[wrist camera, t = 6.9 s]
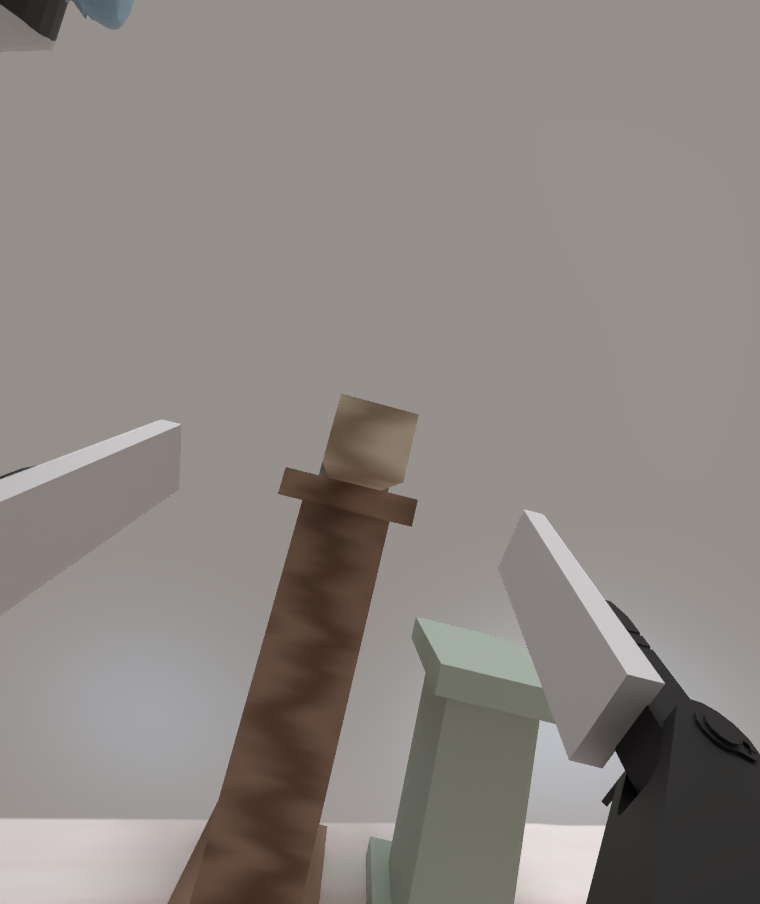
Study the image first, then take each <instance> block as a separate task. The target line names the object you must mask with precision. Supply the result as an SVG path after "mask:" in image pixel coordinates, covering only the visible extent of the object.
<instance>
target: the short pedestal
mask: <svg viewBox="0 0 760 904" xmlns="http://www.w3.org/2000/svg"><path fill="white" fill-rule="evenodd" d="M412 640H413V642H414V645H415V647H416V650H417V652H418V655H419V657H420V660H421V662H422V664H423V667H424V669H425V672H426V674H425V679H424V684H423V689H422V694H421V699H420V704H419V709H418V715H417V719H416V724H415V729H414V734H413V739H412V744H411V749H410V755H409V760H408V765H407V770H406V775H405V780H404V785H403V790H402V795H401V800H400V805H399V810H398V815H397V820H396V825H395V830H394V835H393V840H392V842H391V841H387V840H383V839H378V838H374V837H370V840H369V845H368V850H367V854H366V874H367V904H514V898H515V891H516V884H517V877H518V870H519V862H520V855H521V848H522V841H523V834H524V827H525V819H526V813H527V805H528V798H529V791H530V784H531V777H532V770H533V763H534V756H535V755H534V754H535V749H536V741H537V734H538V727H539V720H542V721H546V722H550V723H554V724H556V723H555V720H554V718H553V715H552V712H551V710H550V707H549V704H548V701H547V699H546V696H545V693H544V691H543V688H542V685H541V683H540V680H539V677H538V675H537V672H536V669H535V666H534V664H533V661H532V658H531V656H530V654H529V653H528V652H526V651H525V650H524V649H523V648H522V647H520V646H519V645H518V644H517V643H515V642H514V641H513V640H509V639H506V638H501V637H497V636H493V635H489V634H485V633H481V632H477V631H472V630H468V629H464V628H460V627H456V626H452V625H448V624H443V623H440V622H435V621H431V620H427V619H423V618H419V617H416V619H415V624H414V629H413V634H412Z"/></svg>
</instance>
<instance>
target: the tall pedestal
mask: <svg viewBox="0 0 760 904" xmlns="http://www.w3.org/2000/svg"><path fill="white" fill-rule="evenodd" d="M278 494H281V495H285V496H289V497H293V498H297V499H301V500H302V504H301V508H300V511H299V515H298V518H297V522H296V525H295V529H294V532H293V536H292V539H291V543H290V547H289V550H288V554H287V557H286V561H285V565H284V568H283V572H282V576H281V579H280V582H279V586H278V589H277V593H276V597H275V600H274V604H273V607H272V611H271V615H270V618H269V622H268V625H267V629H266V632H265V636H264V639H263V643H262V647H261V650H260V654H259V657H258V661H257V665H256V668H255V672H254V675H253V679H252V682H251V686H250V690H249V693H248V697H247V700H246V704H245V707H244V711H243V715H242V718H241V722H240V725H239V729H238V732H237V736H236V739H235V743H234V747H233V750H232V754H231V757H230V761H229V765H228V768H227V772H226V775H225V779H224V782H223V786H222V790H221V793H220V797H219V800H218V802H217V804H216V807H215V808H214V810H213V813H212V814H211V816H210V818H209V820H208V823H207V825H206V827H205V829H204V831H203V833H202V835H201V837H200V839H199V841H198V843H197V845H196V847H195V849H194V851H193V853H192V855H191V857H190V859H189V861H188V863H187V865H186V867H185V869H184V871H183V873H182V875H181V877H180V879H179V881H178V883H177V885H176V887H175V889H174V891H173V894H172V896H171V898H170V900H169V902H168V904H319V897H320V887H321V878H322V868H323V859H324V849H325V840H326V831H327V826H323V825H319V823H320V818H321V814H322V809H323V805H324V801H325V796H326V792H327V788H328V784H329V779H330V775H331V771H332V766H333V762H334V758H335V754H336V749H337V745H338V740H339V736H340V732H341V727H342V723H343V719H344V715H345V710H346V706H347V702H348V698H349V693H350V689H351V685H352V680H353V676H354V672H355V667H356V663H357V658H358V654H359V650H360V646H361V642H362V637H363V633H364V629H365V624H366V620H367V616H368V612H369V607H370V603H371V599H372V594H373V590H374V586H375V581H376V577H377V573H378V568H379V564H380V560H381V555H382V551H383V547H384V543H385V538H386V534H387V530H388V525H389V521H391V522H395V523H399V524H403V525H407V526H412V523H413V519H414V513H415V509H416V505H417V500H416V499H412V498H408V497H404V496H400V495H396V494H392V493H388V492H384V491H380V490H376V489H372V488H368V487H364V486H360V485H356V484H352V483H347V482H343V481H339V480H335V479H331V478H327V477H323V476H319V475H315V474H311V473H307V472H303V471H299V470H295V469H290V468H285V472H284V475H283V478H282V482H281V485H280V489H279V492H278Z"/></svg>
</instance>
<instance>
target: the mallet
mask: <svg viewBox="0 0 760 904" xmlns="http://www.w3.org/2000/svg"><path fill="white" fill-rule="evenodd" d="M417 419H418V414H414V413H411V412H407V411H404V410H400V409H396V408H392V407H389V406H385V405H381V404H378V403H374V402H370V401H367V400H362V399H359V398H355V397H351V396H348V395H344V394H341V397H340V400H339V404H338V407H337V411H336V415H335V418H334V422H333V426H332V429H331V433H330V437H329V441H328V444H327V448H326V451H325V455H324V459H323V462H322V466H321V469H320V473H319V476H323V477H327V478H331V479H335V480H339V481H343V482H347V483H352V484H356V485H360V486H364V487H368V488H372V489H376V490H380V491H384V492H388V489H389V487H392V486H395V485H397V484H399V483H402V482H403V480H404V476H405V471H406V467H407V463H408V459H409V454H410V450H411V446H412V441H413V437H414V432H415V428H416V424H417Z"/></svg>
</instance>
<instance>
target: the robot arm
mask: <svg viewBox="0 0 760 904" xmlns="http://www.w3.org/2000/svg"><path fill="white" fill-rule="evenodd" d="M69 1H70V0H0V52H4V51H36V50H53V47H54V44H55V42H56V39H57V35H58V32H59V29H60V26H61V23H62V19H63V16H64V13H65V10H66V7H67V4H68V3H69ZM72 1H73V2H74V3H75V5H76V6H77V8H78V9H79V10H80V12H81V13H82V15H83V16H84V17H85V19H86V16H87V15H88V16H89V17H90V18H91V19H92V20H94V21H97V22H98V23H100V24H102V25H103V26H105V27H107V28H110V29H119V28H120V27H121V26H122V25H124V23H125V22H126V20H127V18H128V16H129V13H130V11H131V9H132V6H133V2H134V0H72ZM181 426H182V425H181V424H178V423H174V422H170V421H166V420H159V421H156V422H153V423H150V424H148V425H145V426H142V427H140V428H137V429H134V430H132V431H129V432H126V433H124V434H121V435H118V436H116V437H113V438H110V439H108V440H105V441H102V442H99V443H97V444H94V445H91V446H89V447H86V448H83V449H80V450H78V451H75V452H73V453H70V454H67V455H64V456H62V457H59V458H56V459H54V460H51V461H48V462H46V463H43V464H40V465H37V466H33V467H27V468H23V469H20V470H17V471H14V472H11V473H8V474H6V475H3V476H1V477H0V615H2V614H3V613H4V612H6V611H7V610H9V609H10V608H11V607H13V606H14V605H15V604H17V603H19V602H20V601H21V600H23V599H24V598H25V597H27V596H28V595H30V594H31V593H33V592H34V591H35V590H37V589H38V588H40V587H41V586H43V585H44V584H45V583H47V582H48V581H50V580H51V579H53V578H54V577H55V576H57V575H58V574H60V573H61V572H63V571H64V570H65V569H67V568H68V567H70V566H71V565H72V564H74V563H75V562H77V561H78V560H79V559H81V558H82V557H84V556H85V555H87V554H88V553H89V552H91V551H92V550H94V549H95V548H97V547H98V546H99V545H101V544H102V543H104V542H105V541H106V540H108V539H109V538H110V537H112V536H113V535H115V534H116V533H118V532H119V531H121V530H122V529H123V528H125V527H126V526H128V525H129V524H130V523H132V522H133V521H135V520H136V519H138V518H139V517H140V516H142V515H143V514H145V513H146V512H148V511H149V510H150V509H152V508H153V507H155V506H156V505H157V504H158V503H160V502H162V501H163V500H165V499H166V498H167V497H169V496H170V495H172V494H173V493H175V492H176V491H177V490H179V479H180V478H179V477H180V452H181ZM498 569H499V572H500V575H501V577H502V580H503V583H504V586H505V588H506V591H507V594H508V596H509V599H510V602H511V604H512V607H513V610H514V612H515V615H516V618H517V621H518V623H519V626H520V629H521V631H522V634H523V637H524V639H525V642H526V645H527V648H528V650H529V653H530V656H531V658H532V661H533V664H534V666H535V669H536V672H537V675H538V677H539V680H540V683H541V685H542V688H543V691H544V693H545V696H546V699H547V701H548V704H549V707H550V710H551V712H552V715H553V718H554V720H555V723H556V726H557V728H558V731H559V734H560V736H561V739H562V742H563V745H564V747H565V750H566V753H567V755H568V758H569V760H571V761H575V762H579V763H583V764H587V765H591V766H595V767H599V768H603V767H604V766H605V764H606V763H607V761H608V760H609V759H610V757H611V756H612V755H613V753H614V752H615V751H616V753H617V755H618V757H619V759H620V761H621V763H622V765H623V767H624V769H625V772H624V773H623V774H622V775H621V777H620V778H619V779H618V780H617V782H616V783H615V784H614V786H613V787H612V788H611V789H610V791H609V792H608V793H607V795H606V796H605V797H604V799H603V800H602V802H603V803H604V804H605V805H606V806H608V805H609V803H610V802H611V801H612V804H611V808H610V812H609V816H608V820H607V824H606V828H605V832H604V836H603V840H602V843H601V847H600V851H599V855H598V859H597V863H596V867H595V871H594V875H593V879H592V883H591V887H590V890H589V894H588V898H587V902H586V904H760V754H759V752H758V751H757V750H756V748H755V747H754V746H753V744H752V743H751V742H750V740H749V739H748V738H747V737H746V736H745V735H744V734H743V733H742V732H741V731H740V730H739V729H738V728H737V727H736V726H735V725H734V724H733V723H732V722H730V721H729V720H727V719H726V718H725V717H724V716H722V715H721V714H720V713H718V712H717V711H715V710H713V709H712V708H710V707H708V706H706V705H705V704H703V703H700V702H697V701H694V700H691V699H690V698H689V697H688V696H687V694H686V693H685V692H684V690H683V689H682V688H681V686H680V685H679V684H678V683H677V681H676V680H675V679H674V677H673V676H672V675H671V673H670V672H669V671H668V669H667V668H666V667H665V665H664V664H663V663H662V661H661V660H660V659H659V657H658V656H657V655H656V653H655V652H654V651H653V650H650V646H649V644H648V643H647V642H646V640H645V639H644V638H643V636H640V632H639V631H638V630H637V628H636V627H635V626H634V624H633V623H632V622H631V621H630V619H629V618H628V617H627V616H626V615H625V614H624V613H623V612H622V611H621V610H620V609H618V608H617V607H616V606H615V605H614V604H613V603H611V602H610V601H607V600H605V599H604V598H603V597H602V596H601V594H600V592H599V591H598V590H597V588H596V587H595V585H594V584H593V583H592V581H591V580H590V579H589V577H588V576H587V574H586V573H585V572H584V570H583V569H582V567H581V566H580V565H579V563H578V562H577V561H576V559H575V558H574V557H573V555H572V554H571V552H570V551H569V549H568V548H567V547H566V545H565V544H564V542H563V541H562V540H561V538H560V537H559V535H558V534H557V533H556V531H555V530H554V528H553V527H552V526H551V525H550V523H549V522H548V520H547V519H546V517H545V516H544V515H543V514H540V513H536V512H532V511H527V510H523V512H522V514H521V516H520V519H519V521H518V523H517V526H516V528H515V530H514V533H513V535H512V537H511V540H510V542H509V544H508V546H507V549H506V551H505V553H504V556H503V558H502V560H501V563H500V565H499V567H498Z"/></svg>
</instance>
